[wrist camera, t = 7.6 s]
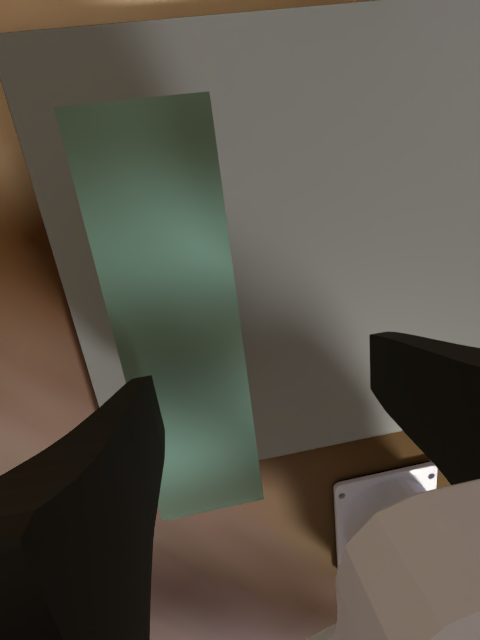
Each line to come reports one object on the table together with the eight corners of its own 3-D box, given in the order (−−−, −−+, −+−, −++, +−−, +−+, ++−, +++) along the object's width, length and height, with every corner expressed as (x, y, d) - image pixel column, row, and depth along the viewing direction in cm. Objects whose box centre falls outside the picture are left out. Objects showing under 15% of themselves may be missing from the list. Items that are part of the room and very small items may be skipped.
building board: (486, 403, 26) (553, 447, 21) (126, 477, 23) (110, 546, 19) (533, -4, 18) (657, -78, 13) (-1, 44, 15) (-84, -27, 11)
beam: (247, 436, 18) (263, 498, 14) (167, 452, 17) (162, 520, 13) (202, 124, 13) (209, 91, 9) (93, 136, 13) (54, 107, 9)
